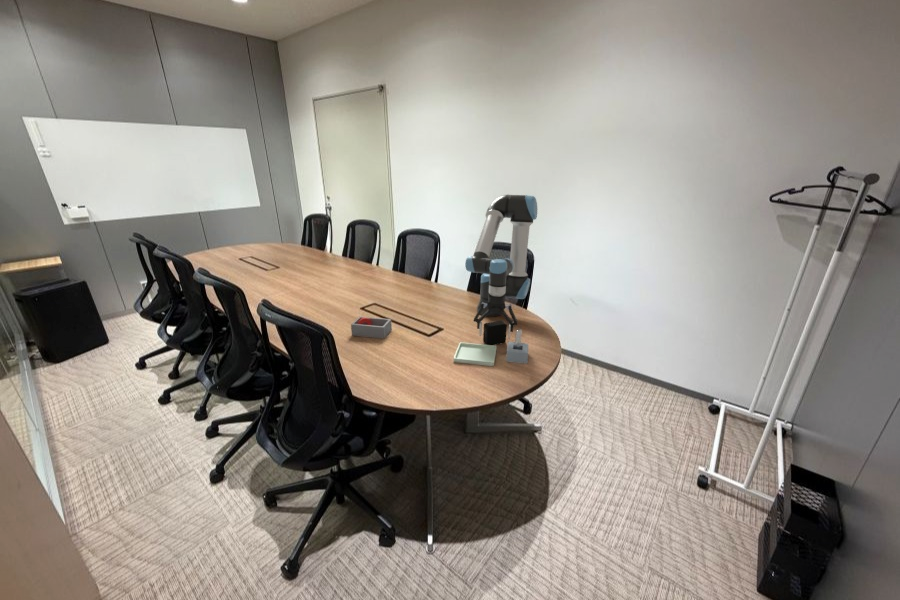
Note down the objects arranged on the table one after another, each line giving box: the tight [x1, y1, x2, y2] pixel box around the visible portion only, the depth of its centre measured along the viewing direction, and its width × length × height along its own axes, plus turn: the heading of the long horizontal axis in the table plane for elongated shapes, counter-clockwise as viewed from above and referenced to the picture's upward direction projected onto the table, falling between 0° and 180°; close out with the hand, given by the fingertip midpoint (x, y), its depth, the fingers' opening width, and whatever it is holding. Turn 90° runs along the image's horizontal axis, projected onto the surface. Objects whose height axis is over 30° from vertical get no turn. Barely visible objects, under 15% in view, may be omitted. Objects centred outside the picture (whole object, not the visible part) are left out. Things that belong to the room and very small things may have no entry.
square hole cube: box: [505, 341, 529, 364], centre depth 159 cm, size 9×9×5 cm
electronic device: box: [482, 320, 508, 346], centre depth 171 cm, size 4×10×10 cm, turn 111°
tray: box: [452, 341, 498, 367], centre depth 161 cm, size 15×17×2 cm
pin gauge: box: [514, 328, 523, 350], centre depth 157 cm, size 2×2×12 cm
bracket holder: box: [350, 316, 393, 340], centre depth 181 cm, size 10×17×6 cm, turn 78°
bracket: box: [358, 318, 372, 325], centre depth 182 cm, size 12×4×8 cm, turn 120°
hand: (494, 336), depth 171 cm, fingers open, 13 cm apart
